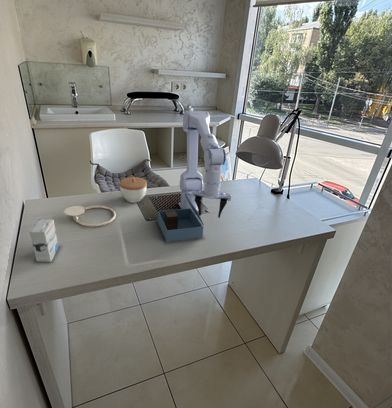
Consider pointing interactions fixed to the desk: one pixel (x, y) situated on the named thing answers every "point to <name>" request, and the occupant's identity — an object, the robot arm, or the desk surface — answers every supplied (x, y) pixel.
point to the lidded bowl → (133, 189)
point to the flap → (194, 209)
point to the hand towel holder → (78, 210)
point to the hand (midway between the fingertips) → (209, 215)
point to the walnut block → (171, 220)
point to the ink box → (44, 240)
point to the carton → (181, 225)
